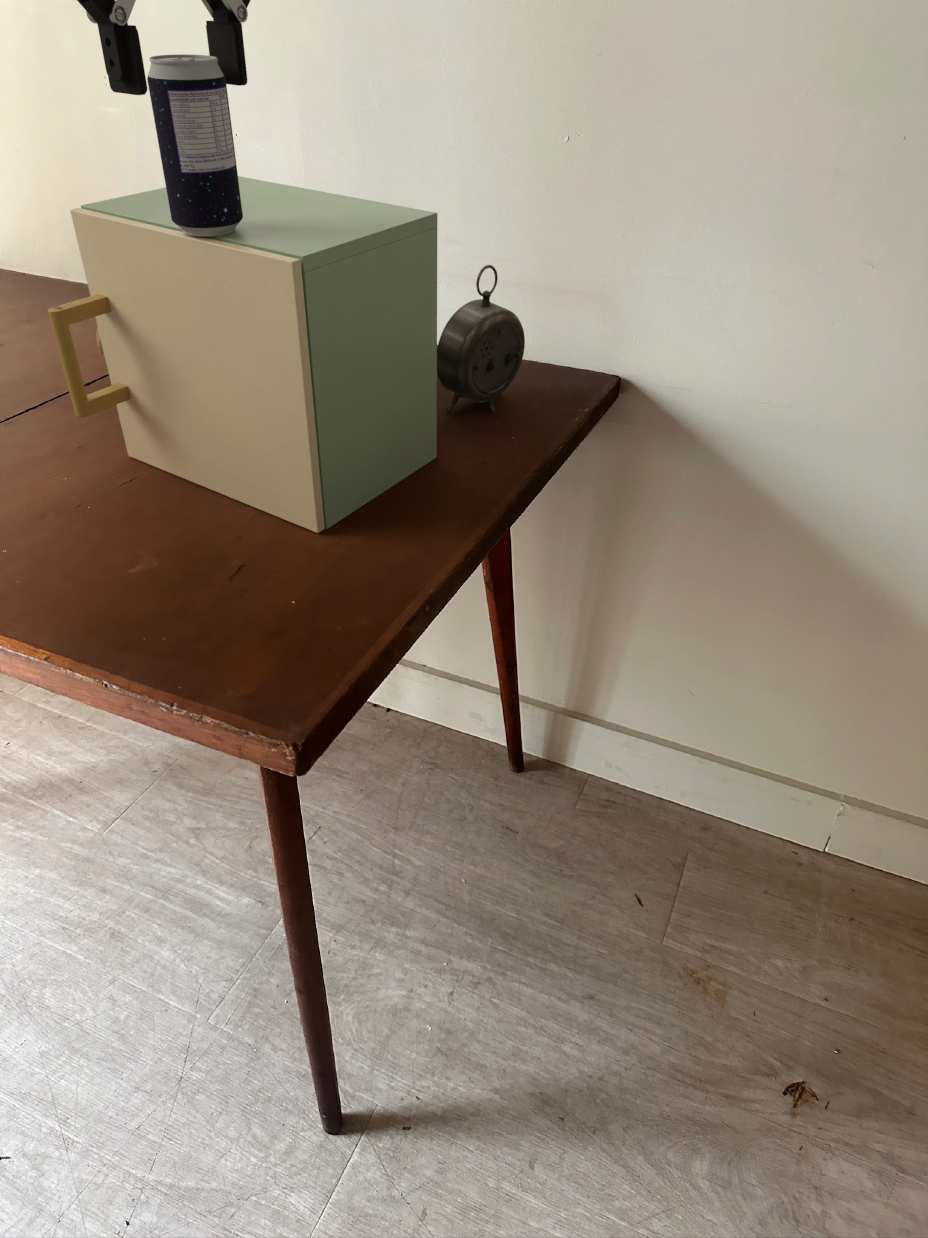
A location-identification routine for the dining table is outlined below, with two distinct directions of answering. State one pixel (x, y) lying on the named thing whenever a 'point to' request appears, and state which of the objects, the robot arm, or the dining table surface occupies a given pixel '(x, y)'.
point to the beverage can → (196, 143)
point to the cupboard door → (200, 360)
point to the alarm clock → (480, 349)
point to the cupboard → (348, 324)
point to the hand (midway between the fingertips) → (182, 87)
